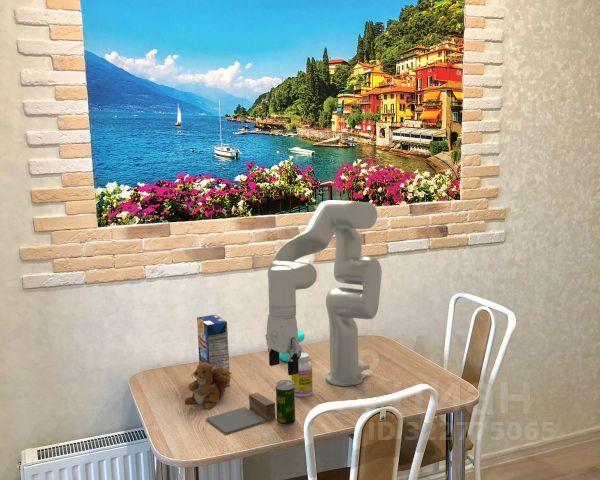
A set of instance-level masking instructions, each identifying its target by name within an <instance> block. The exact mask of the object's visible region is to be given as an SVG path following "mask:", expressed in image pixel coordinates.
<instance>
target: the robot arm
mask: <svg viewBox="0 0 600 480" xmlns="http://www.w3.org/2000/svg"><path fill="white" fill-rule="evenodd" d="M377 220H378V210H377V208H376V206H375V205H374V203H372V202H369V201H367V202H366V201H365V202H364V201H353V200H325V201H324V200H323V201H322V202H320V203H319V204H318V206H317V207H316V209H315V210H314V213H313V214H312V215H311V217H310V220H309V221H308V222H307V224H306V226H305V228H304V230H303V232H302V233H300V234H297V235H296V236H294V237H293V238H291V239H290V240H288V241H287V242H285V243H284V244H283V245H282V246H280V247H279V248H278V249H277V250H276V253H275V254H274V255H273V257H272V259H271V262H270V264H269V266H268V269H267V280H268V315H267V323H266V333H265V340H266V346H267V352H268V360H269V361H268V363H269V364H268V365H269V366H270V367H274V366H278V365H280V362H281V359H280V358H279V353H282V354H287V356H288V359H289V361H288V362H287V375H288V376H292V375H294V374H298V372H299V367H298V360H299V359H300V356H301V352H302V350H303V347H302V346H301V345H300V343H298V330H299V329H298V323H297V317H296V316H297V303H296V300H297V297H296V291H297V290H305V289H309V288H311V287H312V286H313V285H314V284H315V283H316V281H317V277H318V276H317V275H318V273H317V268H315V266H314V265H313V264H311V263H309V262H303V261H296V260H299V259H300V258H303V257H306V256H310V255H314V254H317V253H320V252H322V251H324V250H325V249H327V248H328V246H329V244H330V242H331V241H332V238H333V236H335V239H336V243H335V255H334V256H335V257H334V264H333V277H334V279H335V281H336V282H338V283H342V284H348V285H358V286H362V289H360V288H351V287H343V286H342V287H340V286H339V287H333V288H331V289H330V290H329V291H328V292H327V293H326V297H325V306H326V312H327V315H328V327H329V328H328V329H329V330H328V332H329V371H330V372H328V373H327V374H326V375H325V381H326V382H327V383H329V384H330V385H334V386H337V387H338V386H339V387H349V386H350V387H351V386H355V385H359V384H360V383H362V382H363V381H364V374H362V372H363V371H367V370H369V369H370V364H369V363H364V364H362V363H359V329H358V325H357V323H356V321H355V319H358V320H359V319H360V320H373V319H374V318H375V317H376V316H377V314H378V310H379V305H380V295H381V287H382V286H381V284H382V283H381V282H382V265H381V263H380V260H378V259H377V258H375V257H372V256H364V255H362V245H363V241H362V237H361V235H360V233H359V232H358V230H365V229H366V230H367V229H368V230H369V229H371V228H373V227H374V226H375V224H376V222H377ZM289 349H290V350H289ZM291 353H294V354H293V356H291Z"/></svg>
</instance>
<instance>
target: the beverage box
mask: <svg viewBox="0 0 600 480" xmlns="http://www.w3.org/2000/svg"><path fill="white" fill-rule="evenodd" d="M196 326H197V327H196V328H197V342H198V343H197V347H198V362H199V361H202V362H204V363H208V364H210V365H211V366H213V365H215V369H217V368H224V369H227V370H228V371H229V372H230V357H229V335H228V321H226V320H225V319H223V318H222V317H220V316H219V315H218V314H209V315H205V316H197V317H196ZM226 385H227V386H226V387H230V386H231V381H229V382H228V383H227V384H226ZM226 387H225V388H226Z"/></svg>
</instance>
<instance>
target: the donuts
mask: <svg viewBox="0 0 600 480" xmlns="http://www.w3.org/2000/svg"><path fill="white" fill-rule="evenodd" d="M305 338H306V336H305V333H304V332H303V331H302V330H299V329H298V343H299V344H300V343H302V342H304V340H305ZM289 350H290V349H289ZM301 353H306V351H304V350H303V349H302V352H301ZM293 354H294V353H291V356H293ZM279 360H280V361H283V362H287V363H288V361H289V359H288V356H287V354H282V353H279Z"/></svg>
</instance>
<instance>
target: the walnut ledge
mask: <svg viewBox="0 0 600 480" xmlns="http://www.w3.org/2000/svg"><path fill="white" fill-rule="evenodd" d="M248 404H249V407H248V409H249V410H251V411H252V412H254V413H255V414H257V415H258V416H260V417H261V418H263V419H264V420H266V421H268V420H272V419H274V418H275V419H276V402H274V401H272V400H271V399H269V398H268V397H267V396H265V395H263V394H261V393H259V392H254V393H251V394H249V395H248Z"/></svg>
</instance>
